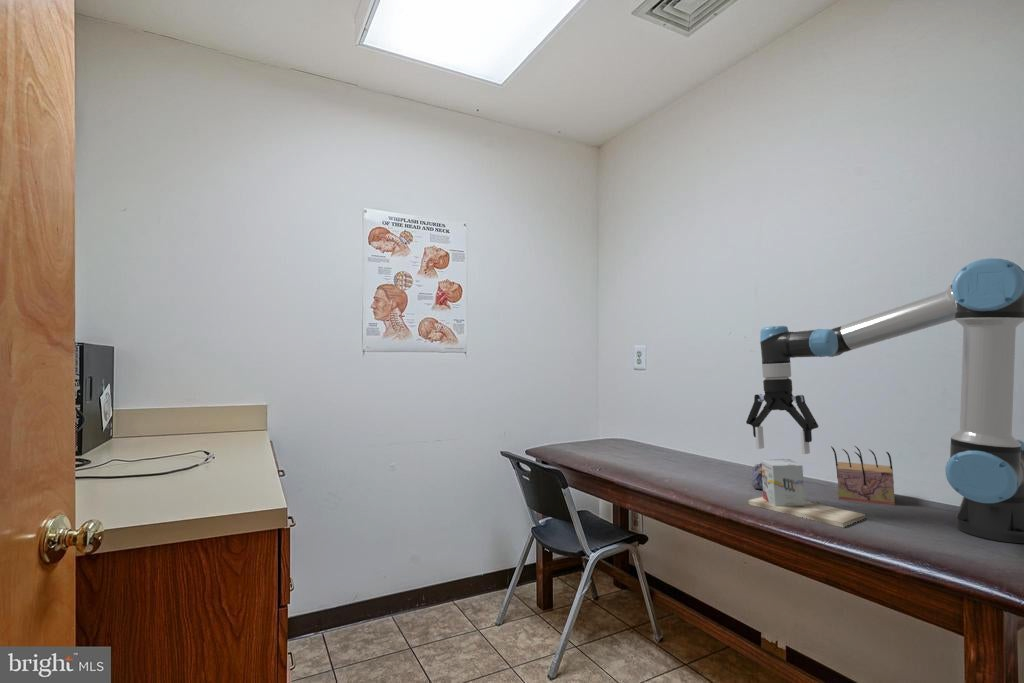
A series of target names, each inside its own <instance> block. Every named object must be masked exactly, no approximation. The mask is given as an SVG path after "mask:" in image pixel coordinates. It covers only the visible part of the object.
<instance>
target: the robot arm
mask: <svg viewBox="0 0 1024 683" xmlns="http://www.w3.org/2000/svg"><path fill="white" fill-rule="evenodd" d="M951 321H956V322H957V323H958V324H960V325H961V326H962V328H963V334H962V358H961V361H962V362H961V363H962V364H961V365H962V366H961V385H960V386H961V388H960V389H961V391H960V412H959V413H960V414H959V416H960V417H959V430H958V431H957V432H955V433H953V434H951V437H950V449H949V451H950V452H949V453H950V454H949V459H948V461H947V462H946V465H945V476H946V477H945V478H946V480H947V482H948V484H949V485H950V487H951V488H952V489H953V490H954V491H955V492H956V493H958V494H959V495H961V496H962V500H961V503H960V504H959V505H960V506H959V508H958V511H957V513H956V516H955V526H956V528H957V529H958V530H959V531H962V532H963V533H966V534H969V535H972V536H974V537H979V538H982V539H988V540H993V541H998V542H1003V543H1005V542H1006V543H1013V544H1014V543H1015V544H1024V441H1022V440H1021V439H1016V438H1015V437H1013V411H1014V388H1015V387H1014V384H1015V358H1016V357H1015V355H1016V353H1015V352H1016V332H1017V331H1016V330H1017V329H1016V328H1017V327H1018V326H1020V324H1022V323H1024V269H1022V268H1021V266H1020V265H1018V264H1017V263H1015V262H1014V261H1010V260H1008V259H1003V258H991V257H990V258H983V259H978V260H975V261H972V262H970V263H968V264H967V265H965V266H963V267H961V269H959V271H958V272H957V273H956V274H955V276H954V277H953V280H952V284H950V285H949V286H948V288H947V290H945V291H942V292H939V293H936V294H933V295H930V296H927V297H925V298H921V299H918V300H915V301H913V302H909V303H906V304H902V305H901V306H896V307H894V308H892V309H888V310H884V311H882V312H879V313H875V314H873V315H870V316H868V317H864V318H861V319H858V320H855V321H852V322H849V323H846V324H843V325H841V326H837V327H834V328H831V329H830V328H828V329H827V328H826V329H823V328H818V329H812V330H811V329H810V330H801V331H800V330H799V331H790V330H789V328H788V326H786V325H777V326H775V325H774V326H773V325H772V326H765V327H763V328H761V329H760V336H759V337H760V339H759V344H760V352H761V369H762V370H761V371H762V378H763V379H764V380H763V381H762V383H763V391H764V394H761V393H760V394H754V400H753V403H752V406H751V408H750V412H749V414H748V417H747V419H746V421H745V422H746V425H750V426H752V431H753V433H752V434H753V437H754V438H755V441H756V442H755V443H756V450H760V449H764V448H765V441H764V428H763V426H761V425H762V423H763V422H764V421H765V420H766V418H767V417H768V416H769V414H770V413H771V411H786V412H787V413H788V414H789V415H790V416H791V417H792V418H793V419H794V420H795V422H796V423H797V424H798V425H799V426H800V428H801V429H802V430H800V443H801V445H800V446H801V454H802V455H808V454H811V451H810V450H811V449H810V443H811V442H812V440H813V437H812V434H813V433H812V430H814V429H818V428H819V424H818V422H817V421H816V419H815V417H814V415H813V413H812V412H811V410H810V408H809V406H808V404H807V403H806V400H805V396H804V395H803V394H798V395H797V394H796V395H793V382H792V380H793V379H791V377H792V366H791V358H822V357H823V358H825V357H828V358H829V357H830V358H831V357H832V358H833V357H837V356H840V355H842V354H844V353H847V352H850V351H853V350H856V349H859V348H863V347H866V346H869V345H870V346H871V345H873V344H876V343H879V342H880V343H881V342H883V341H887V340H890V339H893V338H897V337H900V336H904V335H908V334H910V333H914V332H917V331H918V332H919V331H921V330H924V329H928V328H931V327H934V326H937V325H941V324H945V323H948V322H951ZM764 401H765V405H764V406H763V408H762V410H761V407H762V405H763V402H764ZM793 402H794V403H795V404H796V406H797V408H798V409H799V411H800V412H799V411H798V410H797V408H796V406H795V405H794V404H793ZM760 410H761V411H760ZM759 412H760V413H759Z"/></svg>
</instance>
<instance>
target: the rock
mask: <svg viewBox="0 0 1024 683" xmlns="http://www.w3.org/2000/svg"><path fill="white" fill-rule="evenodd" d="M751 469H752V470H751V473H750V474H751V475H750V476H751V477H750V482H751V486H752V487H753V488H755V489H759V490H763V480H762V462H760V463H757V464H754V466H752V467H751Z"/></svg>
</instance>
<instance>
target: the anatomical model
mask: <svg viewBox="0 0 1024 683" xmlns="http://www.w3.org/2000/svg"><path fill="white" fill-rule="evenodd" d="M830 447H831V449H832V451H833V454H834V460H835V466H836V467H835V468H836V469H835V470H836V479H837V488H838V489H837V490H838V500H843V501H852V502H862V503H871V504H879V505H890V506H896V504H895V486H894V482H895V481H894V473H893V462H892V457H891V454H890V453H889V452H888V451H886V454H887V456H888V460H889V465H883V464H878V461H877V460H878V459H877V457H876V454H875V453H874V451H872V450H871V449H869V448H868V449H867V450H868V451H870V452H871V454H872V455H873V456H874V461H875V464H870V463H864V461H863V455H862V453H861V450H860V449H859V448H858V447H857V446H856V445H853V447H855V448H856V449H857V451H858V452H859V453H858V452H856V451H854V454H856V455H857V456H858V458H859V461H860V463H859V462H858V463H857V462H855V463H854V462H851V458H850V455H849V453H848V452H847V450H845V449H843V448H842V451H844V453H845V454H846V455H847V458H848V459H847V460H848V462H844V461H838V456H837V452H836V450H835V448H834V447H833V446H830Z"/></svg>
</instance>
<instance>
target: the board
mask: <svg viewBox="0 0 1024 683" xmlns="http://www.w3.org/2000/svg"><path fill="white" fill-rule="evenodd" d="M747 502H748V505H750V506H755V507H759V508H762V509H766V510H770V511H774V512H778V513H783V514H787V515H790V514H791V516H794V515H795V516H794V517H799V518H802V517H803V518H802V519H806V518H807V519H806V520H810V519H811V520H812V521H814V520H815V521H814V522H818V521H819V523H822V522H823V524H827V525H831V526H835V527H840V528H845V526H846V527H848V526H847V525H849V526H851V525H853V524H852V523H854V522H856V523H858V522H857V521H859V522H861V521H863V520H862V519H864V518H867V517H866V514H864V513H861V512H856V511H852V510H847V509H842V508H837V507H833V506H830V505H825V504H820V503H816V502H812V501H811V502H810V501H806V500H805V506H774V505H773V504H771V503H770V502H768V501H767V500H765V499H764V498H763V495H762V496H760V497H755V498H751V499H749V500H748V501H747ZM860 520H861V521H860ZM864 520H865V519H864ZM850 524H851V525H850ZM854 524H855V523H854Z"/></svg>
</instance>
